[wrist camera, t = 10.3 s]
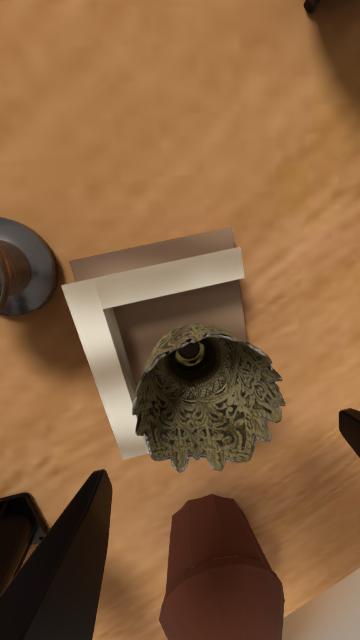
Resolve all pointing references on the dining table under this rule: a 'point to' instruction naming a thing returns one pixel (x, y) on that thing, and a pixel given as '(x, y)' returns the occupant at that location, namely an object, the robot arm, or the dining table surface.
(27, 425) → the dining table surface
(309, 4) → the mate gourd
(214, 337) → the cup
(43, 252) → the bobbin
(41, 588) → the robot arm
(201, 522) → the muffin
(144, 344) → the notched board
